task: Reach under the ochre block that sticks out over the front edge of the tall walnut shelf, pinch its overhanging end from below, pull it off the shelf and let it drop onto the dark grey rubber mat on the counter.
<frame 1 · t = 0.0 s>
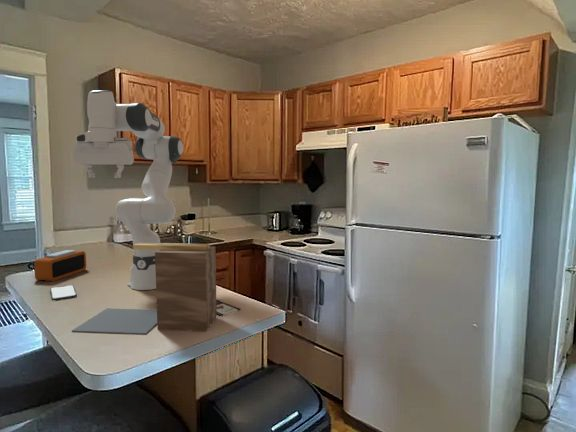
hand: (104, 177, 133), 48 cm above the countertop, tool pointing down, fingers open, 8 cm apart
alarm clock: (62, 275, 186), on the countertop
phone case: (63, 295, 157), on the countertop
chocolate bar: (215, 308, 142), on the countertop
ochre block: (171, 248, 124), point 25 cm above the countertop, touching walnut shelf
rubber mat: (124, 320, 128), on the countertop
walnut shelf: (188, 323, 126), on the countertop
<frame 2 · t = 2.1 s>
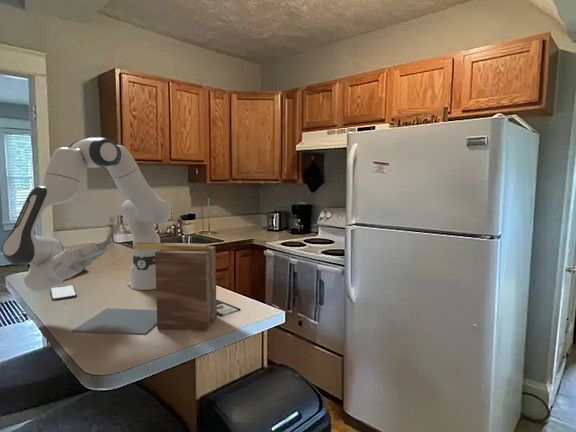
hand: (103, 242, 126), 27 cm above the countertop, tool pointing upward, fingers open, 8 cm apart
nothing on the countertop moved.
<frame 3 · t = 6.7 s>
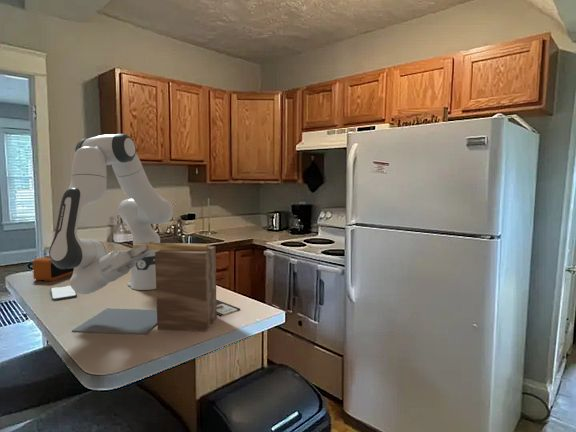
hand: (150, 244, 124), 26 cm above the countertop, tool pointing upward, fingers closed on ochre block, 4 cm apart
ochre block: (171, 248, 124), point 25 cm above the countertop, touching gripper, walnut shelf
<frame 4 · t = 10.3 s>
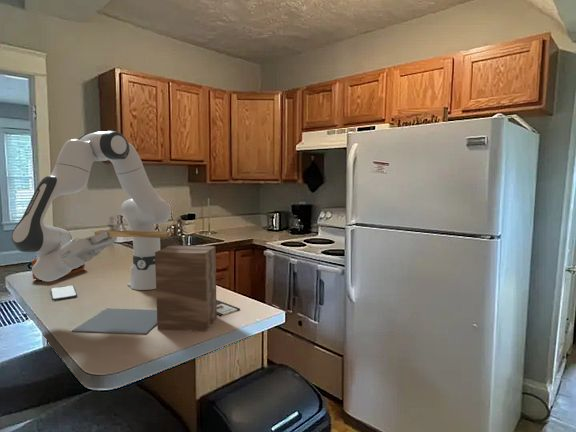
hand: (111, 232, 125), 30 cm above the countertop, tool pointing upward, fingers closed on ochre block, 4 cm apart
ochre block: (133, 236, 125), point 29 cm above the countertop, touching gripper
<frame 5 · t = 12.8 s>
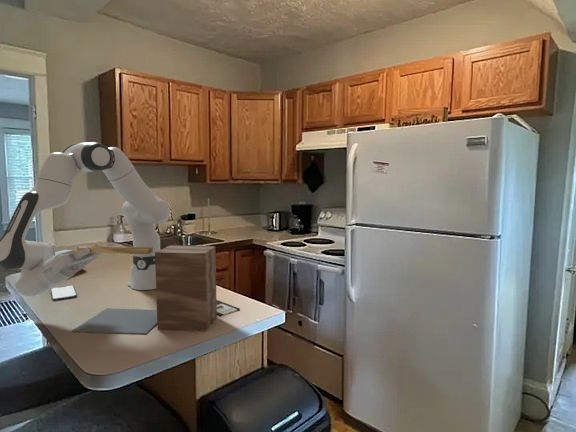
hand: (94, 247, 126), 25 cm above the countertop, tool pointing upward, fingers closed on ochre block, 4 cm apart
ochre block: (115, 252, 126), point 24 cm above the countertop, touching gripper
when the fingers open (20 cm above the countertop, at t = 14.3 s): ochre block drops 19 cm, resting on rubber mat.
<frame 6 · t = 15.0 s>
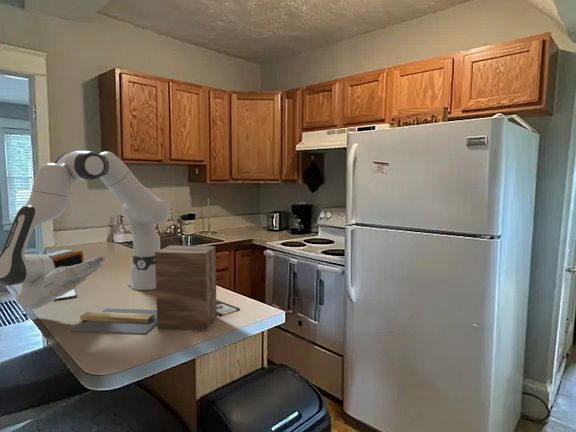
hand: (95, 260, 127), 20 cm above the countertop, tool pointing upward, fingers open, 8 cm apart
ochre block: (117, 319, 128), resting on rubber mat
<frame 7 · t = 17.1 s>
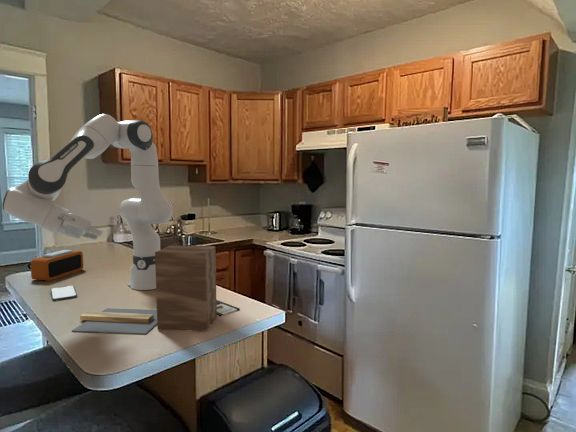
hand: (99, 236, 134), 28 cm above the countertop, tool tilted 60°, fingers open, 8 cm apart
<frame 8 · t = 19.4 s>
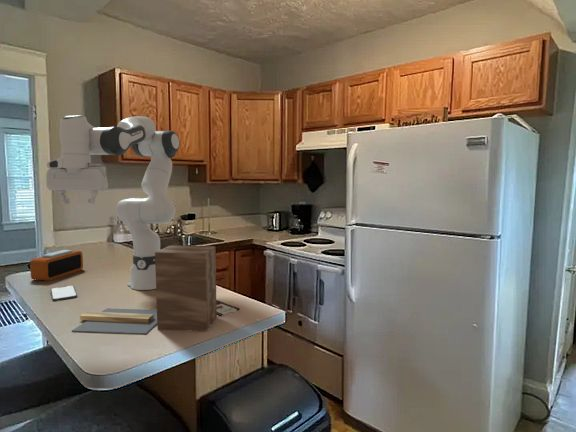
hand: (78, 203, 131), 39 cm above the countertop, tool pointing down, fingers open, 8 cm apart
at the end: ochre block inside the target area (2.7 cm from its centre), resting on rubber mat; the gripper is holding nothing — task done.
